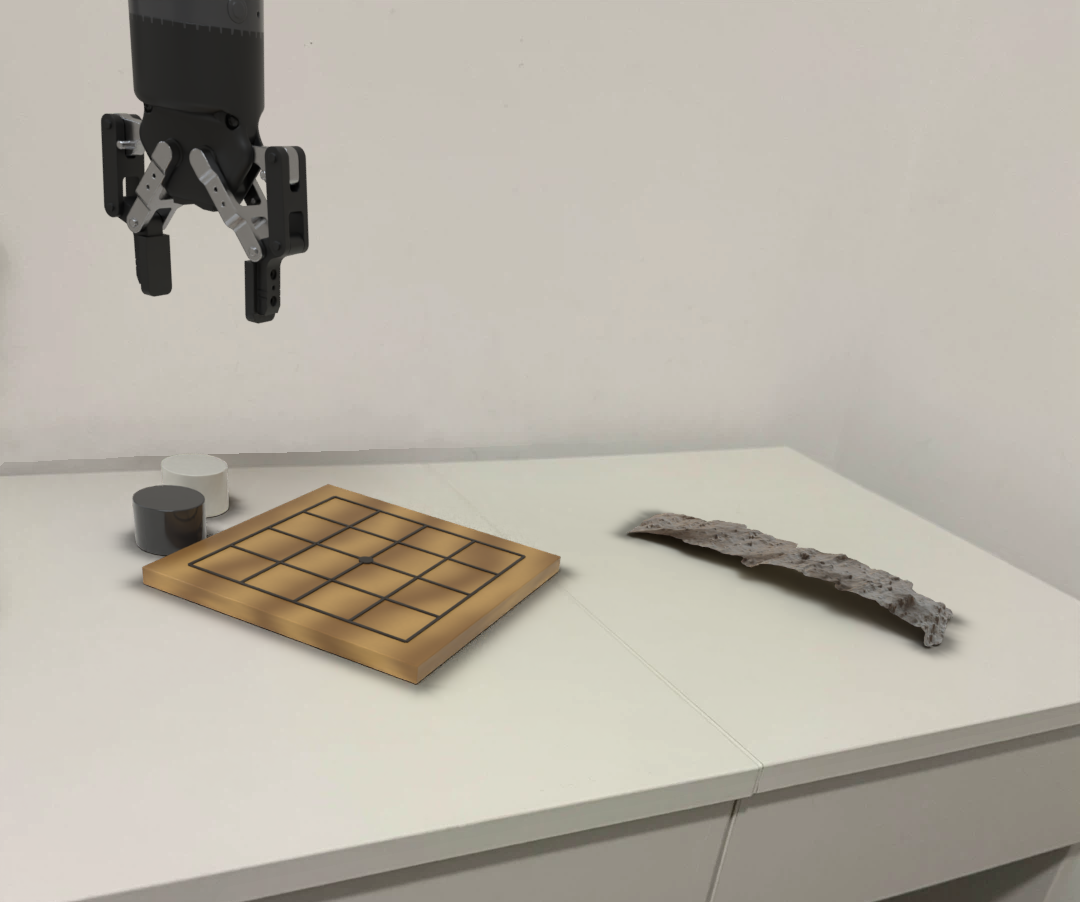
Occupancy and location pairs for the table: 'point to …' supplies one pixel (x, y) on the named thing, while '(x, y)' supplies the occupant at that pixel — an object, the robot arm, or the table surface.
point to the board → (358, 578)
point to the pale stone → (199, 478)
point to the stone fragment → (808, 566)
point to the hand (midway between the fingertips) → (207, 307)
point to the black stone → (168, 518)
